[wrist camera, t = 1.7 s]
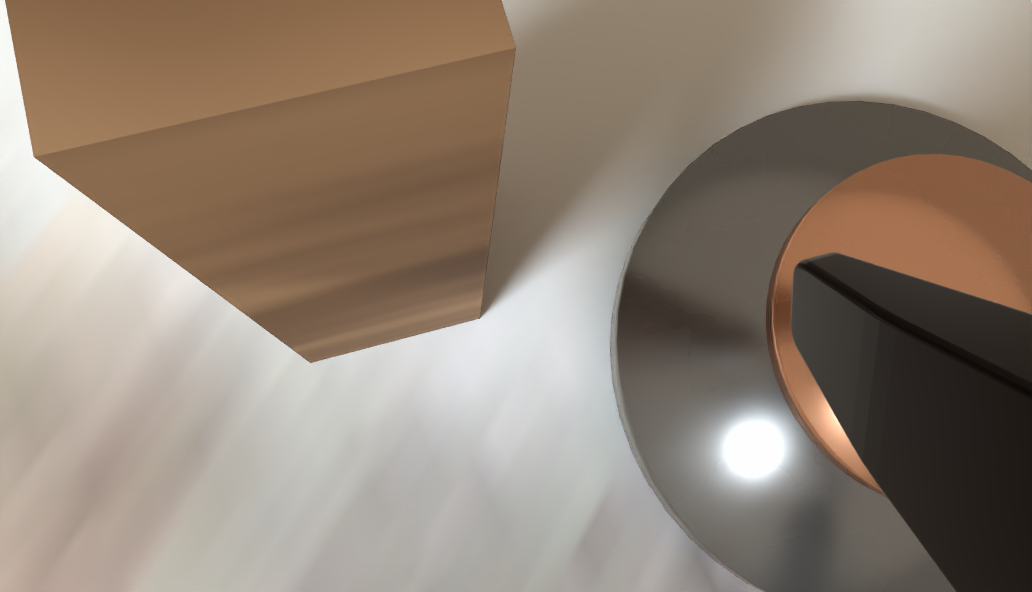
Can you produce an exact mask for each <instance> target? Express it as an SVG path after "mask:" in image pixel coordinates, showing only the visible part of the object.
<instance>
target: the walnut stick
mask: <svg viewBox="0 0 1032 592" xmlns="http://www.w3.org/2000/svg"><path fill="white" fill-rule="evenodd" d="M5 2H6V8H7V13H8V19H9V24H10V30H11V35H12V41H13V46H14V51H15V57H16V62H17V68H18V73H19V79H20V84H21V90H22V95H23V101H24V106H25V111H26V117H27V122H28V128H29V133H30V139H31V144H32V150H33V155H34V157H35V158H36V159H37V160H39V161H40V162H41V163H43V164H44V165H45V166H47V167H48V168H49V169H51V170H52V171H53V172H55V173H56V174H57V175H59V176H60V177H62V178H63V179H64V180H66V181H67V182H68V183H70V184H71V185H72V186H74V187H75V188H76V189H78V190H79V191H80V192H82V193H83V194H84V195H86V196H87V197H88V198H90V199H91V200H92V201H94V202H95V203H96V204H98V205H99V206H100V207H102V208H103V209H104V210H106V211H107V212H109V213H110V214H111V215H113V216H114V217H115V218H117V219H118V220H119V221H121V222H122V223H123V224H125V225H126V226H127V227H129V228H130V229H131V230H133V231H134V232H135V233H137V234H138V235H139V236H141V237H142V238H143V239H145V240H146V241H147V242H149V243H150V244H151V245H153V246H154V247H156V248H157V249H158V250H160V251H161V252H162V253H164V254H165V255H166V256H168V257H169V258H170V259H172V260H173V261H174V262H176V263H177V264H178V265H180V266H181V267H182V268H184V269H185V270H186V271H188V272H189V273H190V274H192V275H193V276H194V277H196V278H197V279H198V280H200V281H201V282H202V283H204V284H205V285H207V286H208V287H209V288H211V289H212V290H213V291H215V292H216V293H217V294H219V295H220V296H221V297H223V298H224V299H225V300H227V301H228V302H229V303H231V304H232V305H233V306H235V307H236V308H237V309H239V310H240V311H241V312H243V313H244V314H245V315H247V316H248V317H249V318H251V319H252V320H254V321H255V322H256V323H258V324H259V325H260V326H262V327H263V328H264V329H266V330H267V331H268V332H270V333H271V334H272V335H274V336H275V337H276V338H278V339H279V340H280V341H282V342H283V343H284V344H286V345H287V346H288V347H290V348H291V349H292V350H294V351H295V352H296V353H298V354H299V355H301V356H302V357H303V358H305V359H306V360H307V361H309V362H310V363H312V362H316V361H319V360H323V359H327V358H331V357H335V356H338V355H342V354H346V353H350V352H354V351H357V350H361V349H365V348H369V347H373V346H376V345H380V344H384V343H388V342H392V341H396V340H399V339H403V338H407V337H411V336H415V335H418V334H422V333H426V332H430V331H434V330H437V329H441V328H445V327H449V326H453V325H456V324H460V323H464V322H468V321H472V320H475V319H479V318H480V314H481V307H482V299H483V291H484V284H485V276H486V269H487V261H488V254H489V246H490V238H491V231H492V223H493V216H494V208H495V200H496V193H497V185H498V178H499V170H500V163H501V155H502V147H503V140H504V132H505V125H506V117H507V109H508V102H509V94H510V87H511V79H512V72H513V64H514V56H515V49H516V47H515V44H514V41H513V37H512V34H511V31H510V27H509V24H508V21H507V17H506V14H505V11H504V7H503V4H502V1H501V0H5Z"/></svg>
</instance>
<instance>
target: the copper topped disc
mask: <svg viewBox="0 0 1032 592" xmlns="http://www.w3.org/2000/svg"><path fill="white" fill-rule="evenodd" d="M831 252H837V253H841V254H844V255H847V256H850V257H854V258H857V259H860V260H863V261H866V262H869V263H873V264H876V265H879V266H882V267H885V268H888V269H891V270H895V271H898V272H901V273H904V274H907V275H910V276H914V277H917V278H920V279H923V280H926V281H929V282H933V283H936V284H939V285H942V286H945V287H948V288H952V289H955V290H958V291H961V292H964V293H967V294H971V295H974V296H977V297H980V298H983V299H986V300H989V301H993V302H996V303H999V304H1002V305H1005V306H1008V307H1012V308H1015V309H1018V310H1021V311H1024V312H1027V313H1031V314H1032V170H1030V169H1029V168H1028V167H1027V166H1025V165H1024V164H1023V163H1022V162H1021V161H1019V160H1018V159H1017V158H1016V157H1014V156H1013V155H1012V154H1010V153H1009V152H1007V151H1006V150H1004V149H1002V148H1001V147H999V146H998V145H996V144H995V143H993V142H992V141H990V140H988V139H987V138H985V137H984V136H982V135H980V134H978V133H975V132H973V131H971V130H969V129H967V128H965V127H963V126H961V125H959V124H957V123H955V122H952V121H950V120H947V119H944V118H941V117H938V116H936V115H933V114H930V113H927V112H924V111H920V110H915V109H911V108H907V107H902V106H898V105H893V104H884V103H874V102H864V101H848V102H826V103H819V104H813V105H806V106H800V107H796V108H792V109H789V110H786V111H782V112H779V113H775V114H772V115H769V116H766V117H764V118H762V119H760V120H757V121H755V122H753V123H751V124H748V125H746V126H744V127H742V128H740V129H738V130H736V131H735V132H733V133H732V134H730V135H728V136H727V137H725V138H723V139H722V140H720V141H719V142H717V143H715V144H714V145H713V146H711V147H710V148H709V149H708V150H707V151H705V152H704V153H703V154H702V155H701V156H699V157H698V158H697V159H696V160H695V161H693V162H692V163H691V164H690V165H689V166H688V167H687V168H686V169H685V170H684V171H683V173H682V174H681V175H680V176H679V177H678V178H677V179H676V180H675V181H674V182H673V184H672V185H671V186H670V187H669V188H668V189H667V191H666V192H665V193H664V195H663V196H662V197H661V199H660V200H659V202H658V203H657V205H656V206H655V207H654V209H653V210H652V212H651V213H650V215H649V216H648V218H647V219H646V221H645V222H644V224H643V225H642V227H641V229H640V231H639V233H638V235H637V237H636V239H635V241H634V243H633V245H632V247H631V249H630V251H629V253H628V255H627V258H626V261H625V264H624V267H623V270H622V273H621V276H620V279H619V282H618V286H617V291H616V296H615V302H614V307H613V312H612V320H611V339H610V356H611V369H612V382H613V387H614V392H615V397H616V402H617V406H618V411H619V416H620V419H621V422H622V425H623V428H624V431H625V433H626V436H627V439H628V442H629V445H630V448H631V450H632V452H633V454H634V456H635V458H636V460H637V463H638V465H639V467H640V469H641V471H642V473H643V475H644V477H645V479H646V481H647V482H648V484H649V485H650V487H651V488H652V490H653V491H654V493H655V494H656V496H657V497H658V499H659V500H660V502H661V503H662V505H663V506H664V508H665V510H666V511H667V512H668V513H669V514H670V516H671V517H672V518H673V519H674V520H675V521H676V523H677V524H678V525H679V526H680V527H681V528H682V530H683V531H684V532H685V533H686V534H687V535H688V537H689V538H690V539H691V540H693V541H694V542H695V543H696V544H697V545H698V546H699V547H700V548H701V549H702V550H704V551H705V552H706V553H707V554H708V555H709V556H710V557H711V558H712V559H714V560H715V561H716V562H717V563H718V564H720V565H721V566H723V567H724V568H726V569H727V570H729V571H730V572H731V573H733V574H734V575H736V576H737V577H739V578H740V579H741V580H743V581H744V582H746V583H748V584H750V585H752V586H753V587H755V588H757V589H759V590H761V591H763V592H956V591H955V590H954V589H953V587H952V586H951V585H950V583H949V582H948V580H947V579H946V578H945V576H944V575H943V574H942V572H941V571H940V569H939V568H938V567H937V565H936V564H935V563H934V561H933V560H932V558H931V557H930V556H929V554H928V553H927V552H926V550H925V549H924V547H923V546H922V545H921V543H920V542H919V541H918V539H917V538H916V536H915V535H914V534H913V532H912V531H911V530H910V528H909V527H908V525H907V524H906V523H905V521H904V520H903V519H902V517H901V516H900V514H899V513H898V512H897V510H896V509H895V508H894V506H893V505H892V503H891V502H890V501H889V499H888V498H887V497H886V495H885V494H884V492H883V491H882V490H881V488H880V487H879V486H878V484H877V483H876V481H875V480H874V479H873V477H872V476H871V474H870V473H869V471H868V470H867V468H866V467H865V465H864V464H863V463H862V461H861V459H860V458H859V456H858V454H857V453H856V451H855V449H854V448H853V446H852V445H851V443H850V441H849V439H848V438H847V436H846V434H845V432H844V431H843V429H842V427H841V425H840V423H839V422H838V420H837V418H836V416H835V415H834V413H833V411H832V409H831V408H830V406H829V404H828V402H827V400H826V399H825V397H824V395H823V393H822V392H821V390H820V388H819V386H818V385H817V383H816V381H815V379H814V377H813V376H812V374H811V372H810V370H809V369H808V367H807V365H806V363H805V362H804V360H803V358H802V356H801V355H800V353H799V351H798V349H797V347H796V345H795V343H794V340H793V337H792V333H791V323H790V322H791V302H792V282H793V272H794V269H795V266H796V265H797V264H798V263H799V262H800V261H801V260H804V259H808V258H811V257H815V256H819V255H823V254H826V253H831Z"/></svg>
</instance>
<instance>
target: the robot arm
mask: <svg viewBox="0 0 1032 592" xmlns="http://www.w3.org/2000/svg"><path fill="white" fill-rule="evenodd" d="M790 323H791V333H792V337H793V340H794V343H795V345H796V347H797V349H798V351H799V353H800V355H801V356H802V358H803V360H804V362H805V363H806V365H807V367H808V369H809V370H810V372H811V374H812V376H813V377H814V379H815V381H816V383H817V385H818V386H819V388H820V390H821V392H822V393H823V395H824V397H825V399H826V400H827V402H828V404H829V406H830V408H831V409H832V411H833V413H834V415H835V416H836V418H837V420H838V422H839V423H840V425H841V427H842V429H843V431H844V432H845V434H846V436H847V438H848V439H849V441H850V443H851V445H852V446H853V448H854V449H855V451H856V453H857V454H858V456H859V458H860V459H861V461H862V463H863V464H864V465H865V467H866V468H867V470H868V471H869V473H870V474H871V476H872V477H873V479H874V480H875V481H876V483H877V484H878V486H879V487H880V488H881V490H882V491H883V492H884V494H885V495H886V497H887V498H888V499H889V501H890V502H891V503H892V505H893V506H894V508H895V509H896V510H897V512H898V513H899V514H900V516H901V517H902V519H903V520H904V521H905V523H906V524H907V525H908V527H909V528H910V530H911V531H912V532H913V534H914V535H915V536H916V538H917V539H918V541H919V542H920V543H921V545H922V546H923V547H924V549H925V550H926V552H927V553H928V554H929V556H930V557H931V558H932V560H933V561H934V563H935V564H936V565H937V567H938V568H939V569H940V571H941V572H942V574H943V575H944V576H945V578H946V579H947V580H948V582H949V583H950V585H951V586H952V587H953V589H954V590H955V591H956V592H1032V314H1031V313H1027V312H1024V311H1021V310H1018V309H1015V308H1012V307H1008V306H1005V305H1002V304H999V303H996V302H993V301H989V300H986V299H983V298H980V297H977V296H974V295H971V294H967V293H964V292H961V291H958V290H955V289H952V288H948V287H945V286H942V285H939V284H936V283H933V282H929V281H926V280H923V279H920V278H917V277H914V276H910V275H907V274H904V273H901V272H898V271H895V270H891V269H888V268H885V267H882V266H879V265H876V264H873V263H869V262H866V261H863V260H860V259H857V258H854V257H850V256H847V255H844V254H841V253H837V252H831V253H826V254H823V255H819V256H815V257H811V258H808V259H804V260H801V261H800V262H799V263H798V264H797V265H796V266H795V269H794V272H793V282H792V302H791V322H790Z"/></svg>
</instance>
